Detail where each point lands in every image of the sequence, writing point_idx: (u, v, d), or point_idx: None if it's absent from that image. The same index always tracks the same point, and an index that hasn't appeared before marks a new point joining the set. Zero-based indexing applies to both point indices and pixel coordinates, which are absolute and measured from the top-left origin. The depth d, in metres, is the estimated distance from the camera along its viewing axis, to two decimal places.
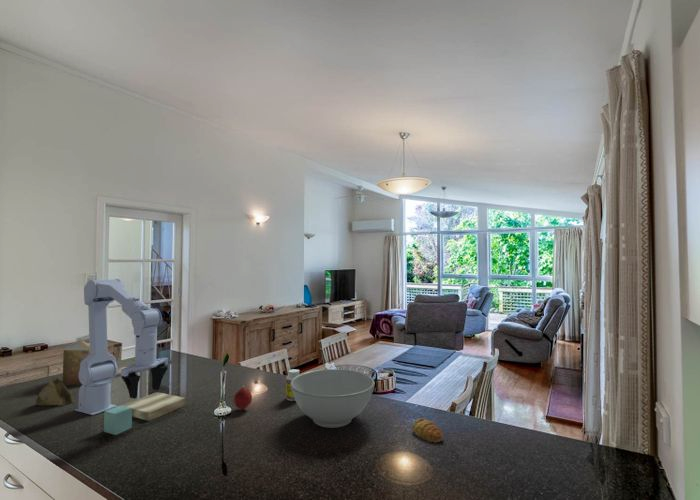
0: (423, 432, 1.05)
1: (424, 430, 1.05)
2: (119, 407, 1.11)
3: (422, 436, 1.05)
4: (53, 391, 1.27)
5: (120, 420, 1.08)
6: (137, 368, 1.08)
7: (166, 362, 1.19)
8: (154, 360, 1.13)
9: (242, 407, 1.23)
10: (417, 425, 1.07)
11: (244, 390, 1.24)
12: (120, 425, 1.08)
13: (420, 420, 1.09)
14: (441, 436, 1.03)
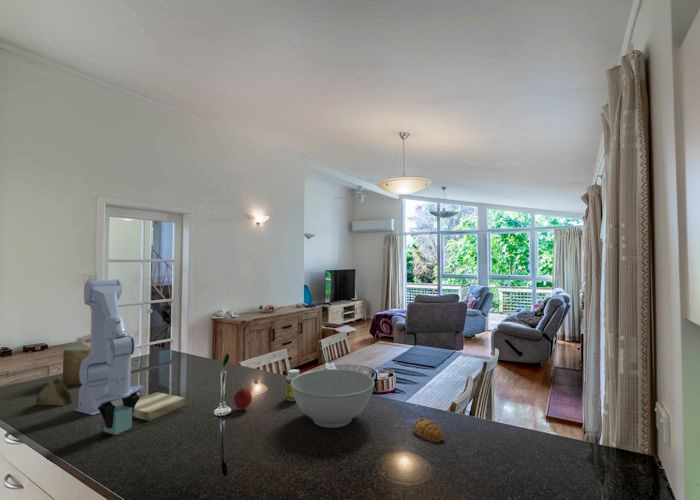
0: (424, 431, 1.05)
1: (425, 430, 1.05)
2: (119, 407, 1.11)
3: (423, 436, 1.05)
4: (53, 391, 1.27)
5: (120, 420, 1.08)
6: (109, 399, 1.06)
7: (141, 390, 1.16)
8: (127, 389, 1.10)
9: (242, 407, 1.23)
10: (418, 425, 1.08)
11: (244, 390, 1.24)
12: (120, 425, 1.08)
13: (421, 420, 1.10)
14: (442, 436, 1.03)
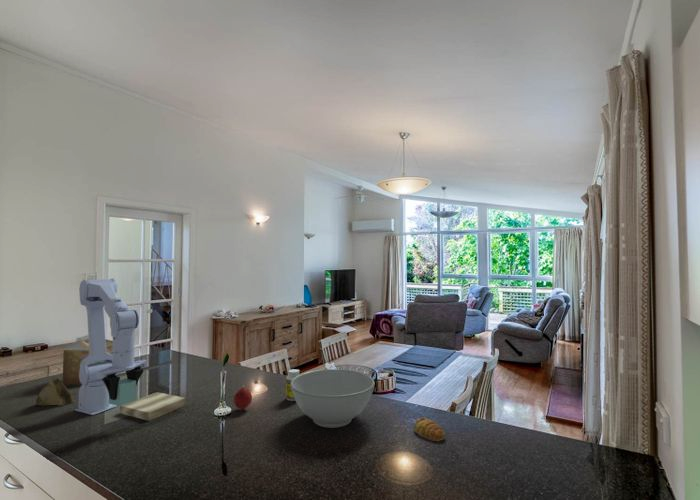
0: (425, 431, 1.05)
1: (426, 429, 1.06)
2: (123, 380, 1.13)
3: (424, 435, 1.05)
4: (53, 391, 1.27)
5: (124, 392, 1.09)
6: (113, 370, 1.07)
7: (145, 364, 1.17)
8: (131, 362, 1.11)
9: (242, 407, 1.23)
10: (419, 424, 1.08)
11: (244, 390, 1.24)
12: (124, 397, 1.09)
13: (421, 419, 1.10)
14: (443, 435, 1.04)
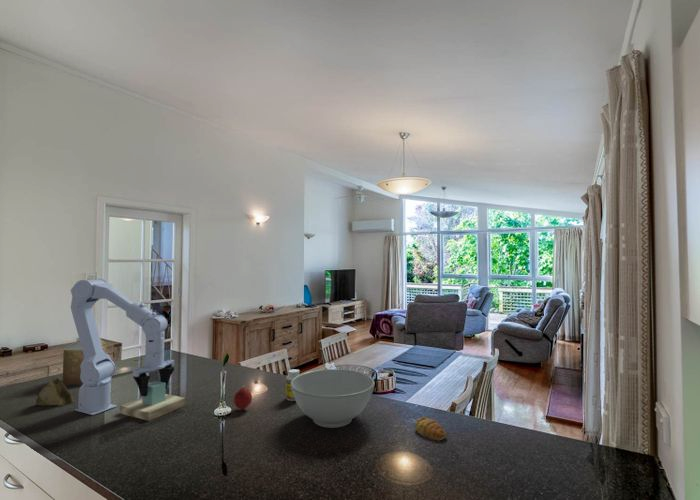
0: (427, 430, 1.05)
1: (427, 428, 1.06)
2: (154, 382, 1.27)
3: (425, 434, 1.05)
4: (53, 391, 1.27)
5: (156, 392, 1.23)
6: (147, 369, 1.21)
7: (173, 364, 1.31)
8: (162, 362, 1.25)
9: (242, 407, 1.23)
10: (420, 424, 1.08)
11: (244, 390, 1.24)
12: (156, 397, 1.23)
13: (422, 419, 1.10)
14: (444, 434, 1.04)
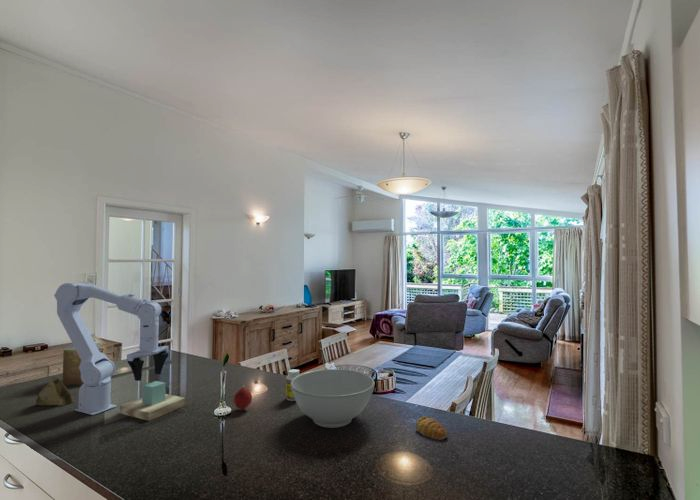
0: (428, 430, 1.06)
1: (428, 428, 1.06)
2: (154, 382, 1.27)
3: (426, 434, 1.06)
4: (53, 391, 1.27)
5: (156, 392, 1.23)
6: (141, 354, 1.22)
7: (167, 350, 1.33)
8: (156, 347, 1.27)
9: (242, 407, 1.23)
10: (421, 423, 1.09)
11: (244, 390, 1.24)
12: (156, 397, 1.23)
13: (423, 418, 1.11)
14: (445, 433, 1.05)
